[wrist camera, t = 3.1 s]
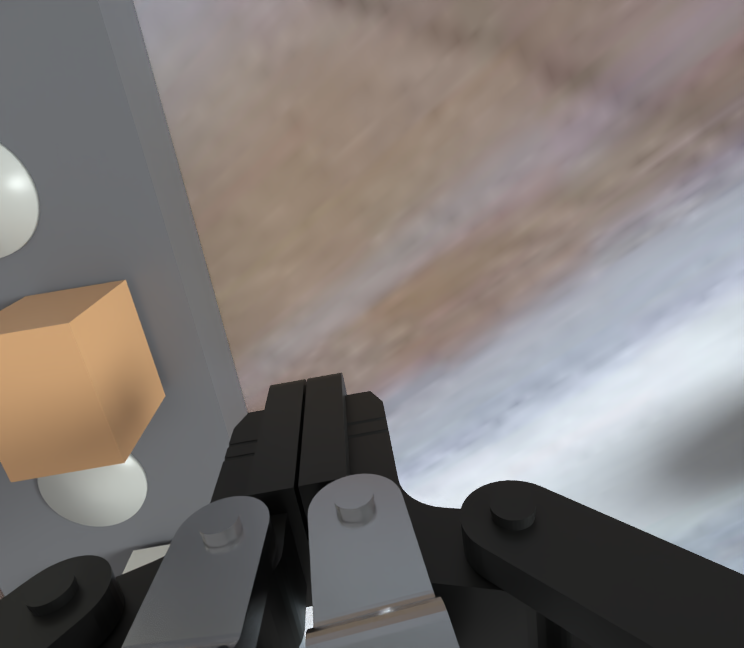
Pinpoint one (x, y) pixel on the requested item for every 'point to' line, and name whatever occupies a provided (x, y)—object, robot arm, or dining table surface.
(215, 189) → the dining table surface
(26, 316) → the switch middle
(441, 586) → the robot arm
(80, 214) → the power strip
